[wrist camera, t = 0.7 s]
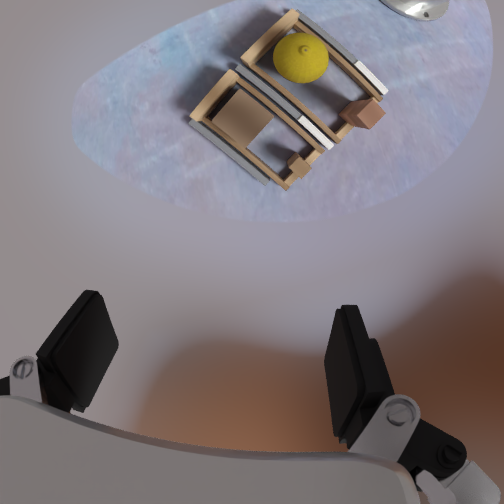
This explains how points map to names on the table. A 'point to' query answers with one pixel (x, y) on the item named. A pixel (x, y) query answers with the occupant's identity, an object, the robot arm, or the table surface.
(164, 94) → the table surface
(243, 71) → the lane rails
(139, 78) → the table surface
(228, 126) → the walnut cube
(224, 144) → the rail right
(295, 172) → the cube
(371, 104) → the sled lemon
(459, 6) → the table surface
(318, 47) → the lemon
